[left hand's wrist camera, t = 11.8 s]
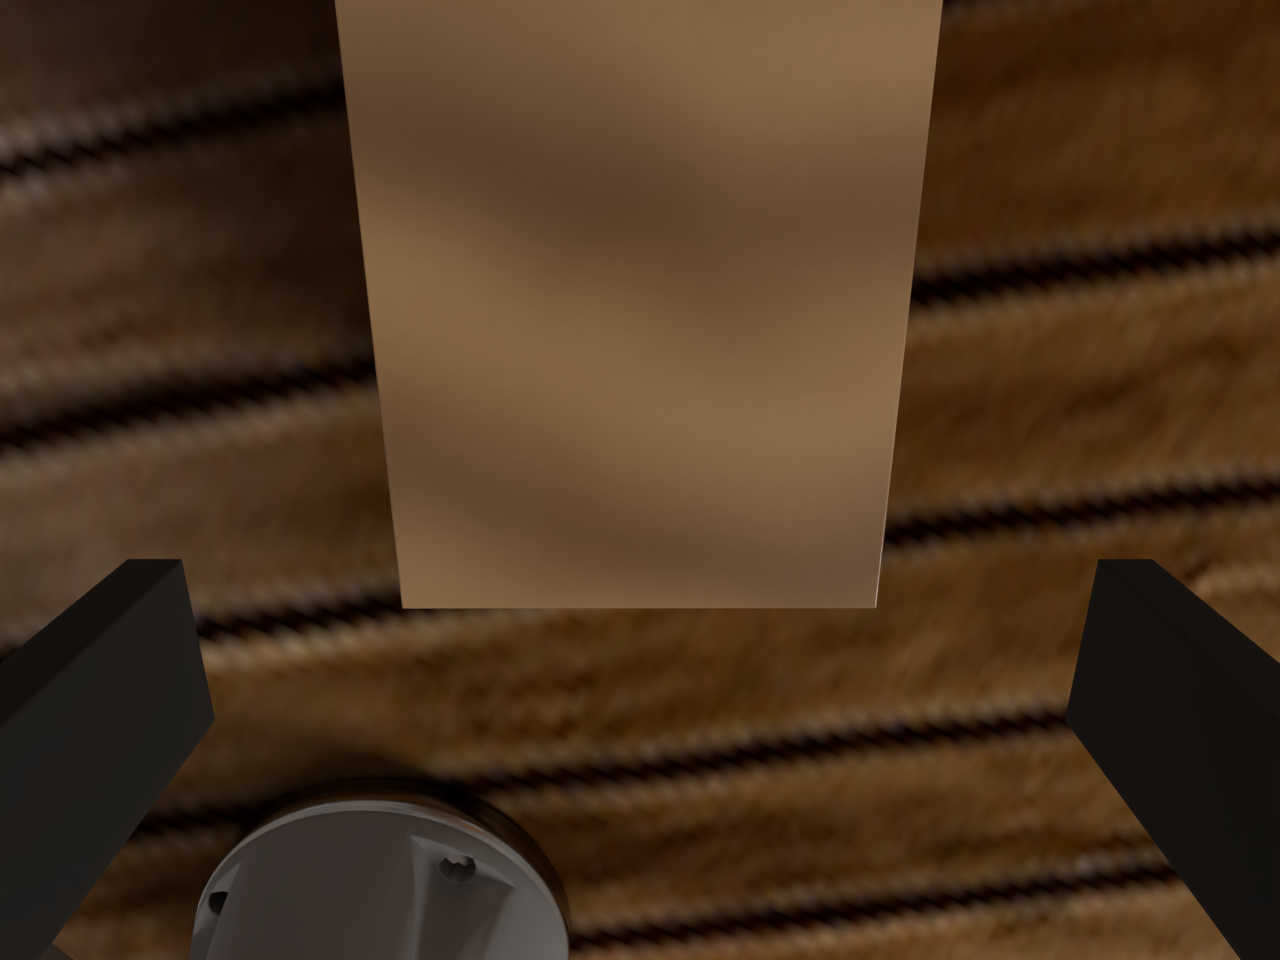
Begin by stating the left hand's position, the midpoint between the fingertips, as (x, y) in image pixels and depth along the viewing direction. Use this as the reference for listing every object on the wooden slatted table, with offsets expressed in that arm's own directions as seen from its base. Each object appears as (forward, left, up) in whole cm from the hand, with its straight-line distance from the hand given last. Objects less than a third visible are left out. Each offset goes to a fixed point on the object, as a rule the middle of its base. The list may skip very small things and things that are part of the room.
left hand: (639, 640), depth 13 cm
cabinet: (+1, +6, -17) cm, 18 cm away
